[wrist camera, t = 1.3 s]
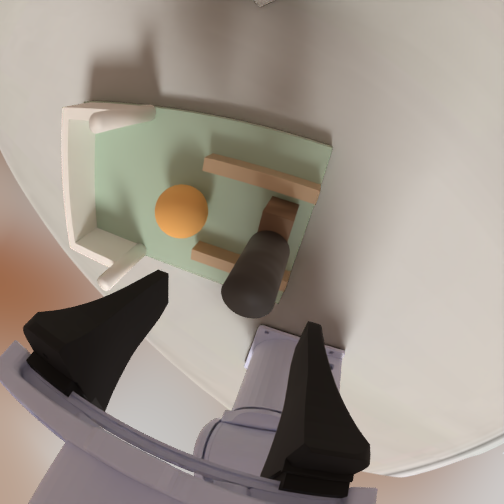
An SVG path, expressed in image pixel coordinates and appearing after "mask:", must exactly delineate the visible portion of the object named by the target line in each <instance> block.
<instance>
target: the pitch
mask: <svg viewBox="0 0 504 504" xmlns="http://www.w3.org/2000/svg"><path fill="white" fill-rule="evenodd" d="M332 149H333V146H330V145H327V144H324V143H321V142H318V141H315V140H312V139H308V138H305V137H302V136H298V135H295V134H292V133H288V132H284V131H281V130H277V129H273V128H270V127H266V126H262V125H258V124H254V123H249V122H245V121H241V120H236V119H232V118H227V117H222V116H217V115H212V114H206V113H201V112H195V111H189V110H182V109H176V108H168V107H161V106H153V105H151V104H148V105H143V104H133V103H121V102H105V101H88V102H84V103H83V104H78V105H72V106H67V107H62V126H61V163H62V184H63V197H64V207H65V216H66V224H67V232H68V238H69V245H70V249H72V250H74V251H76V252H78V253H80V254H82V255H84V256H86V257H88V258H90V259H93V260H95V261H97V262H99V263H101V264H103V265H105V266H107V267H109V268H108V269H107V270H106V271H105V272H104V273H103V274H102V275H101V276H100V277H99V278H98V280H97V281H98V284H99V286H100V287H101V288H102V289H103V290H105V291H109V290H110V289H111V288H112V287H113V286H114V285H115V284H116V283H117V282H118V281H119V280H120V279H121V278H122V277H123V276H124V275H125V274H126V273H127V272H128V271H129V270H130V269H131V268H132V267H133V266H134V265H135V264H136V263H138V262H139V261H140V260H141V259H142V258H143V257H144V256H145V255H146V256H149V257H151V258H154V259H156V260H159V261H161V262H164V263H167V264H169V265H172V266H174V267H177V268H180V269H182V270H185V271H188V272H190V273H193V274H196V275H198V276H201V277H204V278H206V279H209V280H212V281H214V282H217V283H220V284H224V282H225V280H226V279H227V277H228V275H229V273H230V272H231V270H232V268H233V267H234V265H235V263H236V262H237V260H238V258H239V257H240V255H241V253H242V251H243V250H244V248H245V246H246V245H247V243H248V241H249V240H250V238H251V237H252V236H253V235H254V234H255V233H257V231H258V228H259V224H260V220H261V216H262V212H263V210H264V208H265V207H266V205H267V204H268V202H269V201H270V199H271V197H272V196H274V197H278V198H281V199H284V200H287V201H290V202H293V203H296V204H299V208H298V211H297V214H296V217H295V220H294V224H293V227H292V230H291V233H290V236H289V239H288V242H287V243H288V245H289V248H290V255H289V258H288V262H287V265H286V268H285V272H284V275H283V278H282V281H281V285H280V288H279V291H278V294H277V297H276V301H275V303H277V304H279V301H280V299H281V296H282V293H283V292H284V291H285V288H286V286H287V283H288V280H289V276H290V272H291V269H292V267H293V264H294V261H295V258H296V256H297V253H298V250H299V247H300V245H301V242H302V239H303V236H304V233H305V230H306V228H307V225H308V222H309V219H310V216H311V213H312V210H313V207H314V204H315V205H316V202H317V199H318V196H319V193H320V189H321V183H322V180H323V177H324V174H325V171H326V168H327V165H328V162H329V158H330V155H331V152H332ZM179 184H184V185H190V186H192V187H194V188H196V189H198V190H199V191H200V192H201V193H202V194H203V196H204V197H205V199H206V201H207V204H208V217H207V221H206V223H205V225H204V226H203V228H202V229H201V230H200V231H199V232H198V233H197V234H195V235H193V236H191V237H188V238H174V237H171V236H169V235H167V234H166V233H164V232H163V231H162V230H161V229H160V227H159V226H158V224H157V222H156V219H155V205H156V202H157V200H158V198H159V196H160V195H161V194H162V193H163V192H164V191H165V190H166V189H168V188H169V187H172V186H174V185H179Z"/></svg>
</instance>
